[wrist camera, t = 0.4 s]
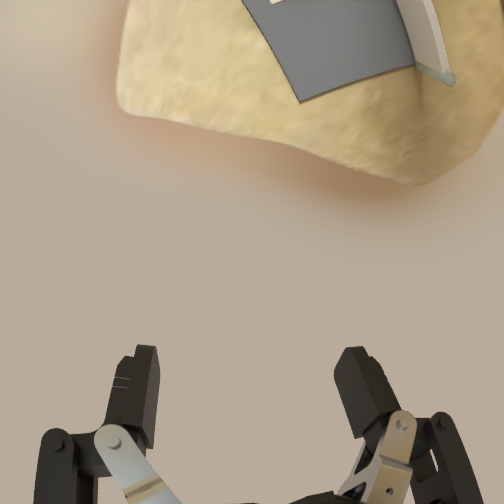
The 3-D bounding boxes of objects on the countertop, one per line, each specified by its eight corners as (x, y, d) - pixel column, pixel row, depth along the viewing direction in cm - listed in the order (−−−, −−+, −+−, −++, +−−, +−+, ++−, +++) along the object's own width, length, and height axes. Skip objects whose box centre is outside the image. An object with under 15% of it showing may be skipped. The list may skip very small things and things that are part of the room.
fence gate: (384, -21, 16) (415, -22, 12) (396, -22, 16) (428, -22, 12) (416, 71, 26) (445, 88, 21) (426, 69, 25) (456, 85, 21)
